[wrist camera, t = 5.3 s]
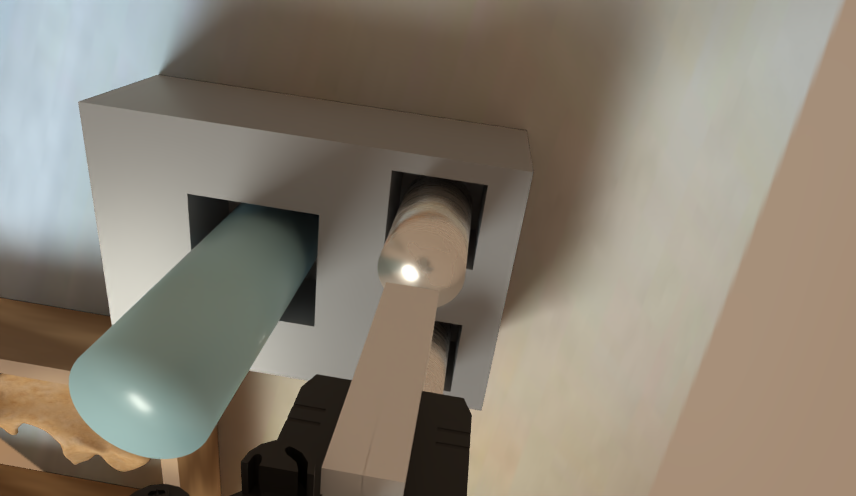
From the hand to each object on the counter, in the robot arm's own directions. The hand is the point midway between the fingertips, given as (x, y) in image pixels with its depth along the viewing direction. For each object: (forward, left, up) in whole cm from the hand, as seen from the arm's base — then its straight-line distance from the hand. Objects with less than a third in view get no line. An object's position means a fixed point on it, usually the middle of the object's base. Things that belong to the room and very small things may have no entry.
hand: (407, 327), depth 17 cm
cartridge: (-3, +8, -12) cm, 14 cm away
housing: (-3, +6, -14) cm, 15 cm away
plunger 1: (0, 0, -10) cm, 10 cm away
